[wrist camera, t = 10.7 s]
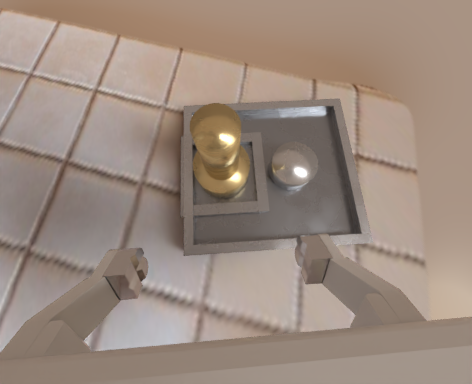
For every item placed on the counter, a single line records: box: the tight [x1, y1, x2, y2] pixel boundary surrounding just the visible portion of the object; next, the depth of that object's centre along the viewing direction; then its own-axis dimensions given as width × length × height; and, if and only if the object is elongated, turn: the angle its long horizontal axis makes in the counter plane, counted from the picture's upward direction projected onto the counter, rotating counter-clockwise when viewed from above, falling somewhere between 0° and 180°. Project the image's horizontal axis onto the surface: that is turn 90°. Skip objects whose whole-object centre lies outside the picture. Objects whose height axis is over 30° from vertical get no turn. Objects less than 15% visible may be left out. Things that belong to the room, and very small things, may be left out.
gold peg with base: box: [190, 103, 250, 198], centre depth 18 cm, size 6×6×10 cm
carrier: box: [181, 99, 373, 256], centre depth 23 cm, size 20×18×4 cm
